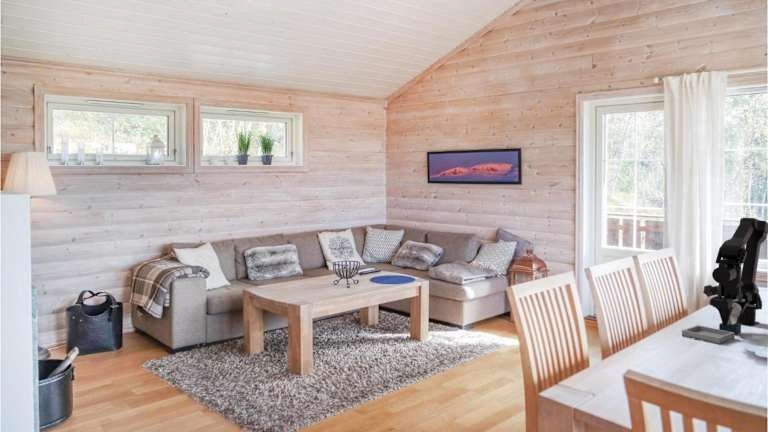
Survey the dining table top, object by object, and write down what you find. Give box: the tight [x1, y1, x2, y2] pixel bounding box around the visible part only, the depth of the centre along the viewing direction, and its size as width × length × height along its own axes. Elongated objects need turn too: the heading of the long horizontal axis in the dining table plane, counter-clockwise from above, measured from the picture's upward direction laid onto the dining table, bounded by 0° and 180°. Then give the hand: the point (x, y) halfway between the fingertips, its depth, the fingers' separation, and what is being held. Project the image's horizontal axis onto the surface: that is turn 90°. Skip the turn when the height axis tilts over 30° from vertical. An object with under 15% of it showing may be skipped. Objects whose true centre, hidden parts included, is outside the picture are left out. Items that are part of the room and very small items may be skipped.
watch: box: [718, 302, 742, 336], centre depth 213 cm, size 6×8×11 cm
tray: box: [681, 324, 735, 345], centre depth 208 cm, size 11×13×2 cm
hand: (730, 322), depth 213 cm, fingers closed on watch, 8 cm apart
